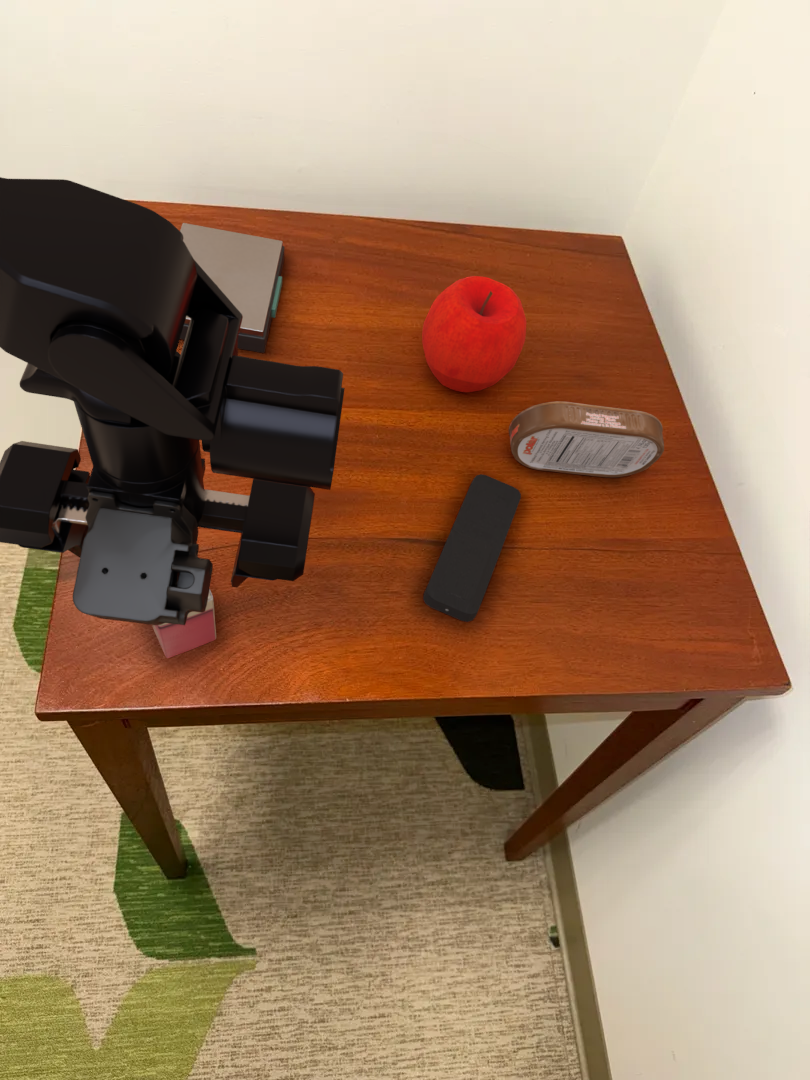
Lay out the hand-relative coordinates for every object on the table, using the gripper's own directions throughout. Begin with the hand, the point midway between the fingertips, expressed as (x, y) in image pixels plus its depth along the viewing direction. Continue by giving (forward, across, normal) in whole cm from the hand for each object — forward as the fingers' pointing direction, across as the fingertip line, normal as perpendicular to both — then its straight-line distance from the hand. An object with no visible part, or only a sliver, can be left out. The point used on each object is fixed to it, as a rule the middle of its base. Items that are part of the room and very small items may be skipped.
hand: (170, 572), depth 54 cm
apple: (+9, +22, +31) cm, 39 cm away
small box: (+9, 0, 0) cm, 9 cm away
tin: (+9, +34, +22) cm, 42 cm away
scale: (+9, -3, +37) cm, 39 cm away
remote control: (+9, +24, +11) cm, 28 cm away
